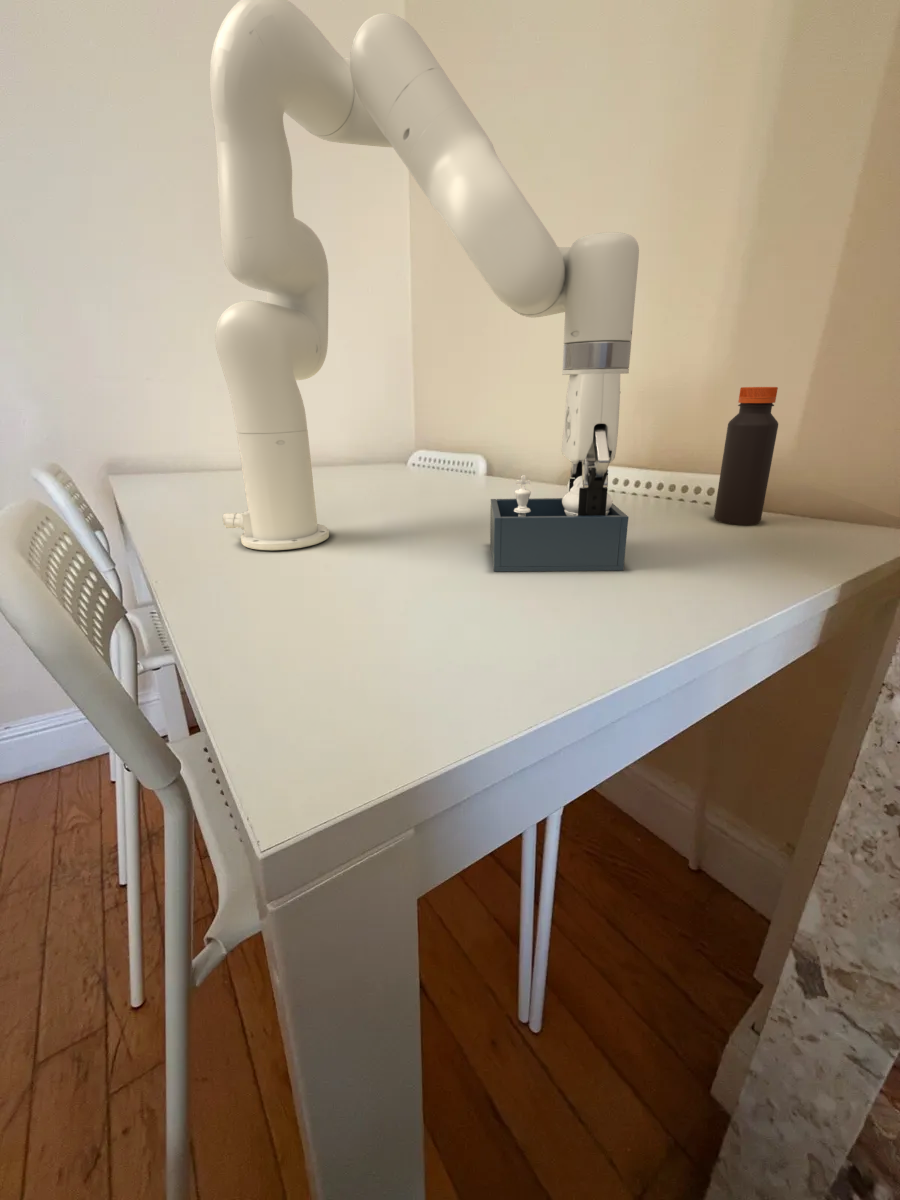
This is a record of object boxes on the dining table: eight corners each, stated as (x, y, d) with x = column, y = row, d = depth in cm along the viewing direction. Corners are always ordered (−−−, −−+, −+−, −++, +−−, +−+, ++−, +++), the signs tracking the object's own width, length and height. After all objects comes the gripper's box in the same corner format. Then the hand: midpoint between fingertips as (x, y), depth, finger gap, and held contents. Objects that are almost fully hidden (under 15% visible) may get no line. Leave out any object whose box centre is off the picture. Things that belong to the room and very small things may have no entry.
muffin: (613, 524, 74) (617, 470, 72) (607, 536, 69) (611, 478, 66) (565, 522, 76) (568, 469, 74) (556, 533, 71) (558, 476, 69)
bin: (493, 571, 69) (494, 518, 67) (490, 545, 80) (490, 498, 77) (623, 570, 68) (628, 516, 66) (602, 544, 79) (606, 497, 77)
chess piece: (542, 558, 72) (545, 478, 68) (503, 558, 72) (504, 479, 68) (537, 547, 76) (540, 472, 73) (500, 548, 76) (501, 472, 73)
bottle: (707, 515, 94) (726, 387, 87) (750, 516, 94) (773, 386, 86) (721, 525, 88) (743, 387, 81) (767, 526, 87) (794, 387, 80)
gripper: (552, 363, 74) (546, 501, 80) (576, 359, 58) (566, 532, 64) (610, 362, 73) (600, 500, 80) (651, 357, 57) (634, 531, 64)
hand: (585, 513), depth 72 cm, fingers closed on muffin, 6 cm apart
